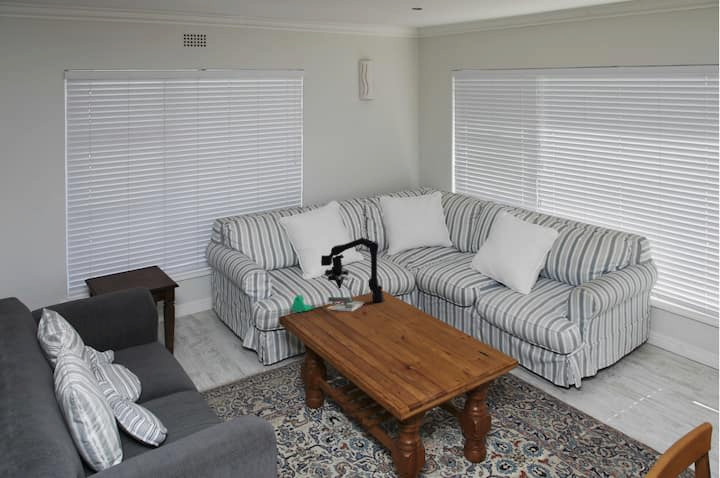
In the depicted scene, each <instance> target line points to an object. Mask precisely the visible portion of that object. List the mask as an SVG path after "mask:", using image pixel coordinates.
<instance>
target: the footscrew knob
mask: <svg viewBox="0 0 720 478" xmlns="http://www.w3.org/2000/svg"><path fill="white" fill-rule="evenodd" d="M327 299H328V302H330V303H337V302H344V305H346V303H353V297H349V296H347V297H341V296H340V297H335V296H329V297H327Z"/></svg>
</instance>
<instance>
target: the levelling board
mask: <svg viewBox="0 0 720 478" xmlns="http://www.w3.org/2000/svg"><path fill="white" fill-rule="evenodd" d="M352 301H353V300H352ZM336 303H340V302H334V304H336ZM363 304H364V305H365V301H357V300H356V301H353V303H346V305H344V303H341V304H336V305H334V306H331V305H330V306H328V307H326V310H327V309H332V310H338V312H354V311H355V310H356V309H359V308H360V307H362V306H364V305H363Z"/></svg>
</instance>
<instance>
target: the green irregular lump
mask: <svg viewBox="0 0 720 478" xmlns="http://www.w3.org/2000/svg"><path fill="white" fill-rule="evenodd" d="M304 300H305V299H304V296H303V295H301V294H298V295H296V296H295V297H294V300H293V303H292V305H291V310H293V311H294V310H295V311H296V312H300V313H302V312H306V311H310V310H312V309H314V306H313V305H310V304H305V302H304Z"/></svg>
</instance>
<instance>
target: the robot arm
mask: <svg viewBox="0 0 720 478" xmlns="http://www.w3.org/2000/svg"><path fill="white" fill-rule="evenodd" d="M360 245H363V246H364V247H366V248H368V249H369V253H370V276H371V277H370V278H368V286H367V287H368V288H369V290H370V291H371V293H372V295H371V297H372V298H371V299H372V301H371V303H376V304H377V303H382V302H385V299H384V292H383V287H382V286H381V284H380V283H379V278H378V252H379V248H380V244H379V242H378V241H376V240H375V241H373V240H370V239H368V238H365V237H360V238H357V239H355V240H352V241H350V242H347V243H344V244H337V245H334V246H332V248H331V249H330V253H329V255H321V257H320V258H321V259H320V264H321V266H322V267H323V266H324V267H326V266H331V265H332V267H331V269H326V270H325V271H324V275H326V277H327V280H328V281H335V283H336V285H337V287H338V289H341V288H342V284H343V282H344V280H345V278H346V276H349V271H348V270H346V269H345V270H343V268H344V265H342V263H343V261H342V259H344V258H345V255H343V254H342V253H343V252H345V251H348V250H349V249H353V248H354V247H358V246H360ZM344 275H345V276H344Z"/></svg>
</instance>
